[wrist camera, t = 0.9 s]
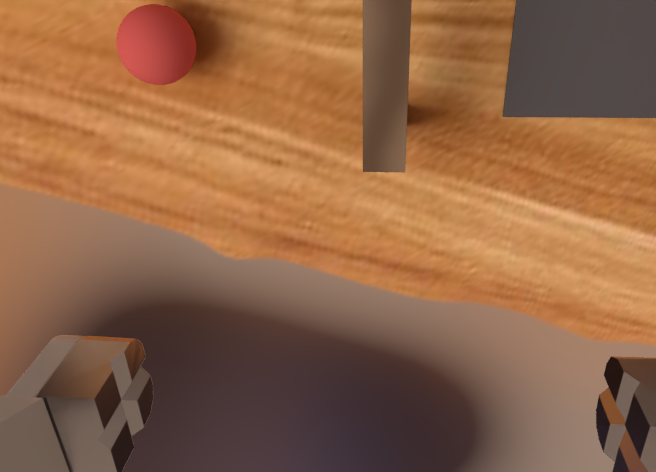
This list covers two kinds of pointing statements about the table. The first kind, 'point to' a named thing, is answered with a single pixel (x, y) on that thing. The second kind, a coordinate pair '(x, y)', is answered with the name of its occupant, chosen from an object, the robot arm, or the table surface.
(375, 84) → the bridge
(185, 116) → the table surface
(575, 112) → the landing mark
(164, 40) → the ball
